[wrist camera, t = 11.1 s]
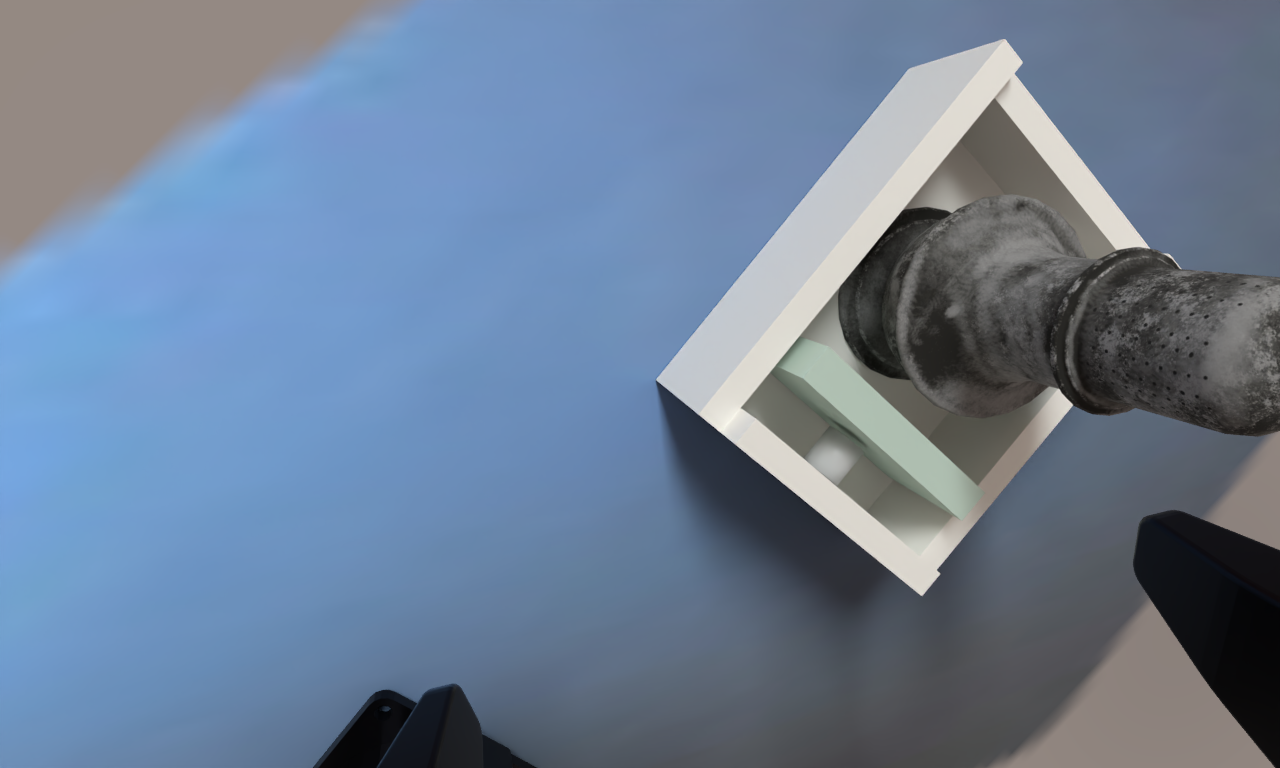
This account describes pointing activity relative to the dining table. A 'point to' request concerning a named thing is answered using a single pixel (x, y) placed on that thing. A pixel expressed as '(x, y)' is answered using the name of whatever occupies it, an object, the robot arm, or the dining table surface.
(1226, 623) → the robot arm
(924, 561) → the box
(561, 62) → the dining table surface
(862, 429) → the bar
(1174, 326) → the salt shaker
